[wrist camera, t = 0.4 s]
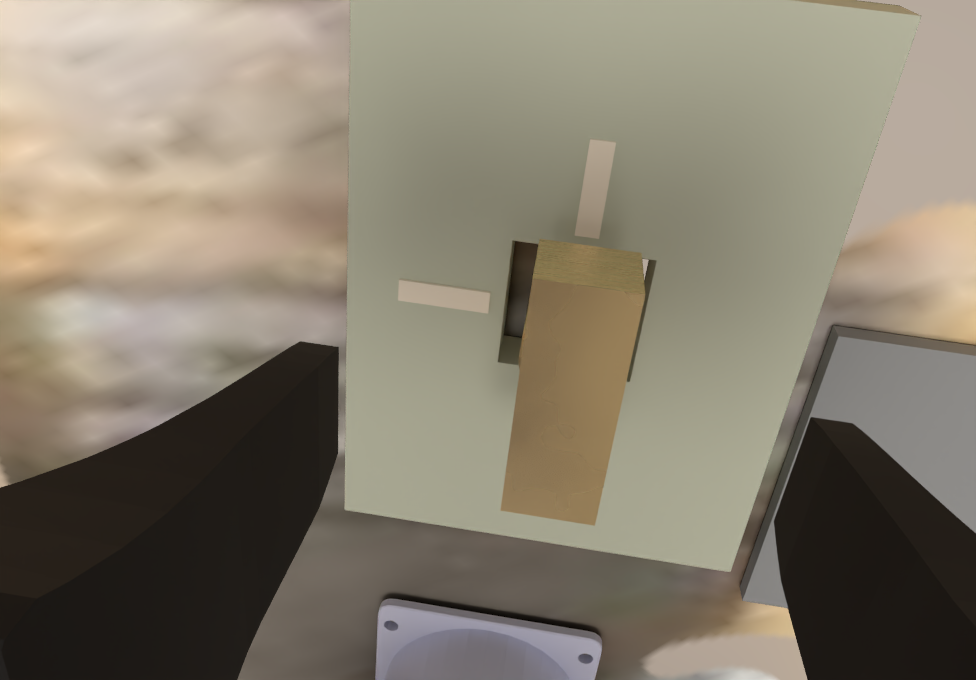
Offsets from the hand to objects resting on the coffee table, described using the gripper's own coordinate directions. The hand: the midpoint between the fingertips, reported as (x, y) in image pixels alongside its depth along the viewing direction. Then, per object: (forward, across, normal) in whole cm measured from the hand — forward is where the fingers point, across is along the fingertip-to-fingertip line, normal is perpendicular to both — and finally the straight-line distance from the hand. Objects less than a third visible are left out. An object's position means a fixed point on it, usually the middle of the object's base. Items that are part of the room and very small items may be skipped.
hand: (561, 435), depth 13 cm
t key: (+10, 0, +2) cm, 10 cm away
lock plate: (+10, 0, +2) cm, 10 cm away
